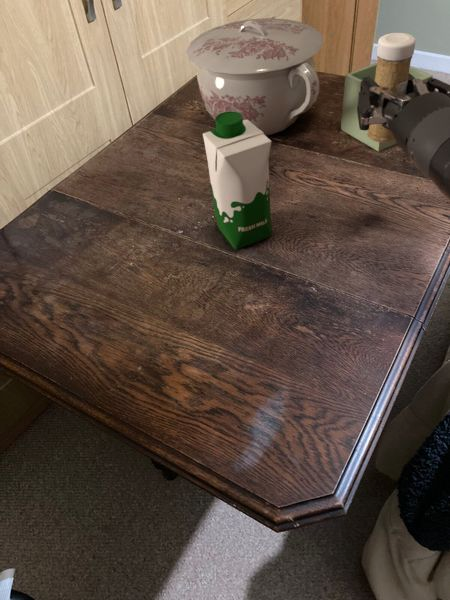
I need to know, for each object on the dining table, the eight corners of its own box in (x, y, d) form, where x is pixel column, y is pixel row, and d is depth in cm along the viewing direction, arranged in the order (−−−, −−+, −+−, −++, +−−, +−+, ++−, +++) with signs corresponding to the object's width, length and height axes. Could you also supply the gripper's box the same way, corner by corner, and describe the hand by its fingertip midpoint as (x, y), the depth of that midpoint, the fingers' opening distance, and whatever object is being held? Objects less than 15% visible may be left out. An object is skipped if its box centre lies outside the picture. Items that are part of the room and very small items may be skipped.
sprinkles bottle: (360, 137, 72) (371, 40, 63) (379, 124, 74) (392, 28, 65) (387, 147, 70) (402, 47, 60) (405, 134, 72) (423, 35, 62)
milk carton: (255, 210, 89) (248, 103, 74) (279, 238, 83) (277, 127, 68) (210, 227, 87) (194, 119, 72) (233, 256, 81) (220, 146, 66)
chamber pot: (201, 97, 121) (189, 4, 106) (314, 89, 119) (318, -8, 104) (192, 159, 102) (175, 56, 87) (326, 151, 100) (332, 43, 85)
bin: (381, 113, 108) (389, 57, 99) (420, 133, 101) (433, 75, 92) (340, 130, 105) (345, 74, 96) (378, 152, 98) (386, 94, 89)
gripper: (508, 96, 55) (435, 42, 67) (385, 120, 54) (333, 61, 66) (489, 156, 60) (425, 97, 72) (377, 178, 60) (330, 114, 71)
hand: (381, 80), depth 69 cm, fingers closed on sprinkles bottle, 4 cm apart
